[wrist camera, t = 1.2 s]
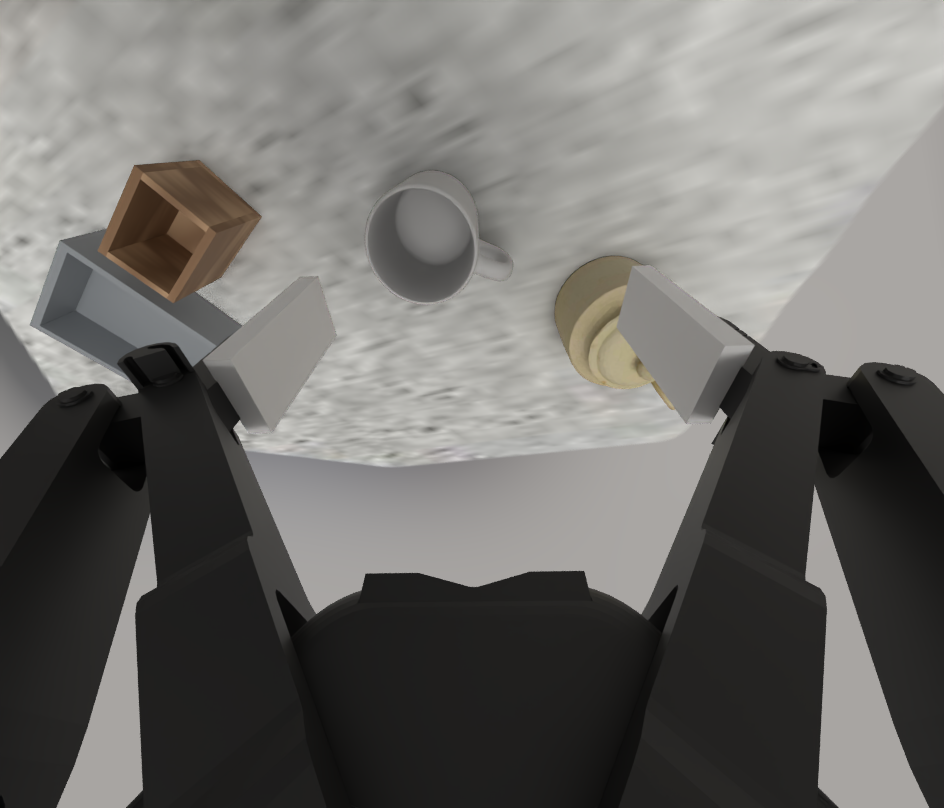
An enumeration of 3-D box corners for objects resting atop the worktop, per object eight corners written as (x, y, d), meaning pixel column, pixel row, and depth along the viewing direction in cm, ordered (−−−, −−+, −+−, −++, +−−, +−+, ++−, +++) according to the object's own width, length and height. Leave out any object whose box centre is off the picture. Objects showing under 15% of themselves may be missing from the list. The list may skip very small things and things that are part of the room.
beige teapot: (703, 284, 37) (810, 352, 25) (643, 366, 44) (705, 450, 32) (582, 239, 34) (638, 292, 23) (537, 334, 41) (562, 413, 29)
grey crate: (74, 306, 39) (29, 325, 35) (107, 228, 34) (59, 240, 30) (223, 397, 47) (200, 420, 43) (268, 345, 42) (247, 366, 38)
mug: (384, 249, 35) (354, 285, 26) (402, 153, 30) (373, 159, 22) (491, 289, 38) (496, 333, 29) (524, 206, 33) (542, 230, 24)
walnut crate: (162, 231, 34) (97, 251, 28) (199, 160, 31) (134, 165, 25) (221, 277, 37) (173, 303, 31) (262, 216, 33) (216, 233, 28)
